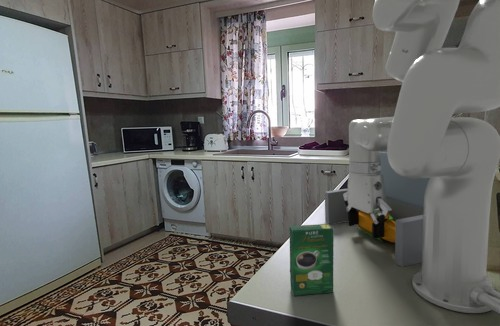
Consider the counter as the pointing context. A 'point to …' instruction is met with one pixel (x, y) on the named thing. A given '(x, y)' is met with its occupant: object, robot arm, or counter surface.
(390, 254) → the counter surface
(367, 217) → the corn
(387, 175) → the cover
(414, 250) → the grey bridge shelf
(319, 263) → the coffee box
